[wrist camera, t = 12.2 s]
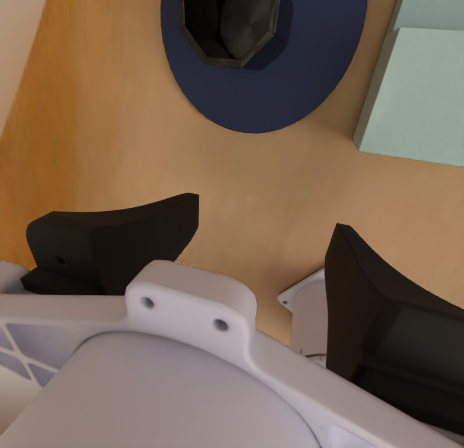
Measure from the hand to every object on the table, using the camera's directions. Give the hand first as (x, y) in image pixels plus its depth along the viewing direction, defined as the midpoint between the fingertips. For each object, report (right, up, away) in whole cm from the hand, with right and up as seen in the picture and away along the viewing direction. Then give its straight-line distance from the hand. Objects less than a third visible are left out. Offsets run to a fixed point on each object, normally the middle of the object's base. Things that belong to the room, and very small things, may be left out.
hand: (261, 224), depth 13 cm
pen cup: (0, +14, +4) cm, 14 cm away
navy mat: (0, +14, +5) cm, 15 cm away
